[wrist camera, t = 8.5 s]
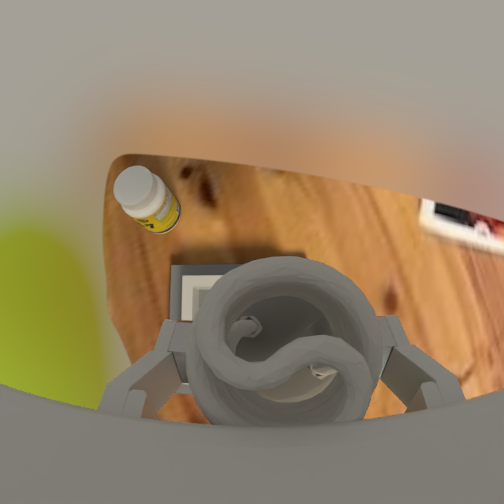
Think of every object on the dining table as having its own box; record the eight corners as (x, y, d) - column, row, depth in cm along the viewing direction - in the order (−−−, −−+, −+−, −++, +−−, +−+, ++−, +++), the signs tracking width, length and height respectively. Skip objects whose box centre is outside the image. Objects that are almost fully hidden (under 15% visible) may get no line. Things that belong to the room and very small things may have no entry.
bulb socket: (310, 265, 33) (314, 257, 29) (311, 393, 30) (316, 401, 26) (175, 267, 34) (163, 259, 30) (174, 390, 31) (161, 397, 27)
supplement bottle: (135, 222, 35) (100, 194, 27) (158, 188, 36) (129, 153, 28) (166, 243, 34) (134, 218, 26) (190, 207, 35) (166, 174, 27)
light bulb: (221, 366, 18) (127, 417, 7) (257, 279, 19) (216, 202, 8) (310, 402, 17) (346, 505, 6) (346, 313, 18) (440, 288, 7)
